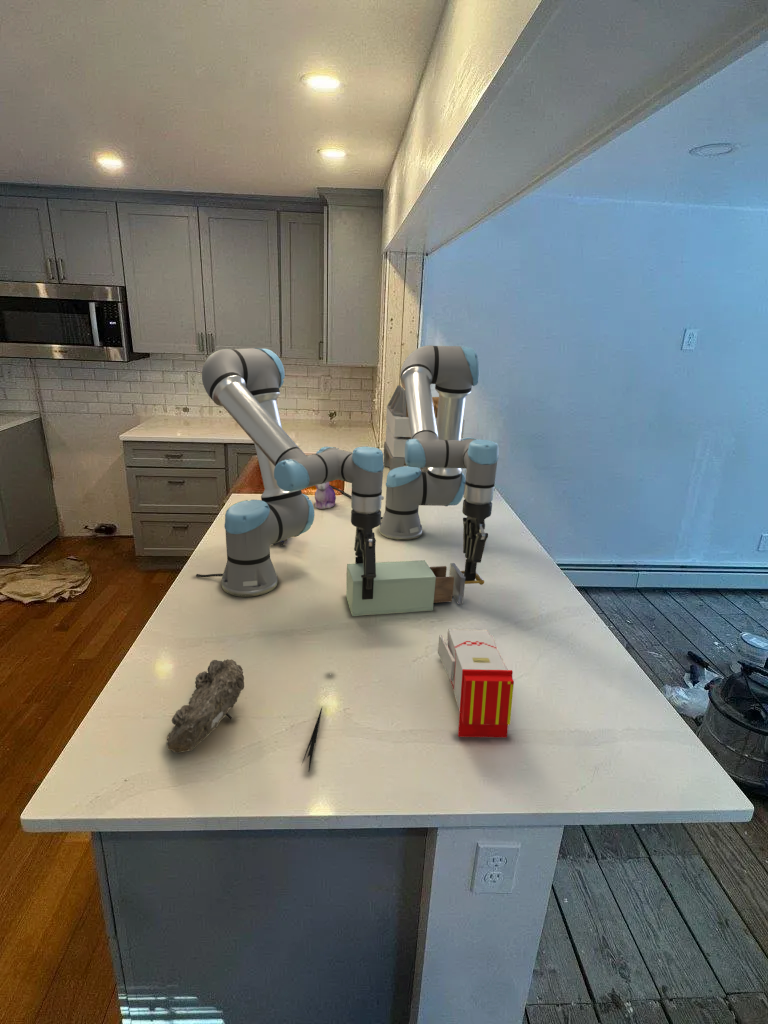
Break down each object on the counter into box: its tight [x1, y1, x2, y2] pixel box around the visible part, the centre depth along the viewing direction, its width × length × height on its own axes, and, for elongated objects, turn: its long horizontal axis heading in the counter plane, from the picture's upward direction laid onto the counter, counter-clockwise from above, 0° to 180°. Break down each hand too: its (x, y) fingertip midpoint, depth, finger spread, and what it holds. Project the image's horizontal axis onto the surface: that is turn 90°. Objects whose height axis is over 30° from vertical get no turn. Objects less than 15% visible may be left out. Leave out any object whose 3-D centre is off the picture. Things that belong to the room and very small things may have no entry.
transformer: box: [383, 384, 465, 471], centre depth 268 cm, size 34×33×41 cm
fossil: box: [166, 658, 245, 754], centre depth 106 cm, size 22×10×15 cm
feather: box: [301, 673, 332, 771], centre depth 108 cm, size 2×28×2 cm
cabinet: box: [345, 559, 436, 617], centre depth 151 cm, size 22×10×10 cm, turn 102°
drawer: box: [429, 562, 485, 605], centre depth 153 cm, size 26×9×8 cm, turn 102°
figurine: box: [314, 482, 337, 510], centre depth 222 cm, size 9×10×15 cm
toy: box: [437, 628, 515, 738], centre depth 117 cm, size 12×13×30 cm
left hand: (363, 588), depth 149 cm, fingers closed on cabinet, 10 cm apart
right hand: (469, 581), depth 155 cm, fingers closed
